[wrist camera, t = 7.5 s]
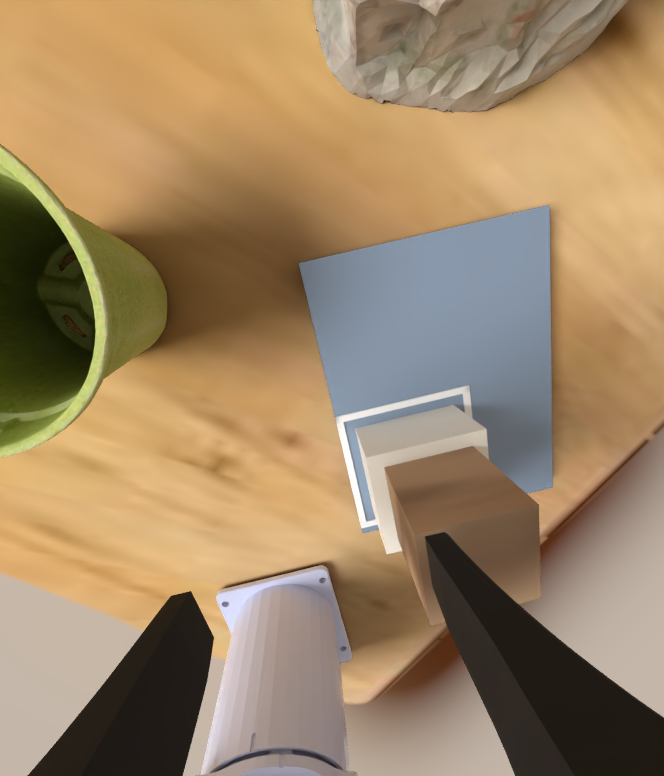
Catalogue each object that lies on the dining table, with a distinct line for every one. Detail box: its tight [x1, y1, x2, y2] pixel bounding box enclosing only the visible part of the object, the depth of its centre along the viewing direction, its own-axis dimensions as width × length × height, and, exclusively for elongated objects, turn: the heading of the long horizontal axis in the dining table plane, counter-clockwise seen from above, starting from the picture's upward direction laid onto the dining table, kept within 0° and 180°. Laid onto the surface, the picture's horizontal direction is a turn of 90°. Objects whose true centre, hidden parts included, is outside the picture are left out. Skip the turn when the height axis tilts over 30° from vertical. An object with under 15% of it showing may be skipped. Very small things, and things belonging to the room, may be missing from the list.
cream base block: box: [355, 405, 489, 554], centre depth 18 cm, size 6×6×4 cm
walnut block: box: [384, 446, 541, 626], centre depth 14 cm, size 4×4×4 cm
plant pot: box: [0, 144, 167, 458], centre depth 12 cm, size 9×9×9 cm
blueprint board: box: [299, 205, 553, 533], centre depth 18 cm, size 17×13×1 cm
